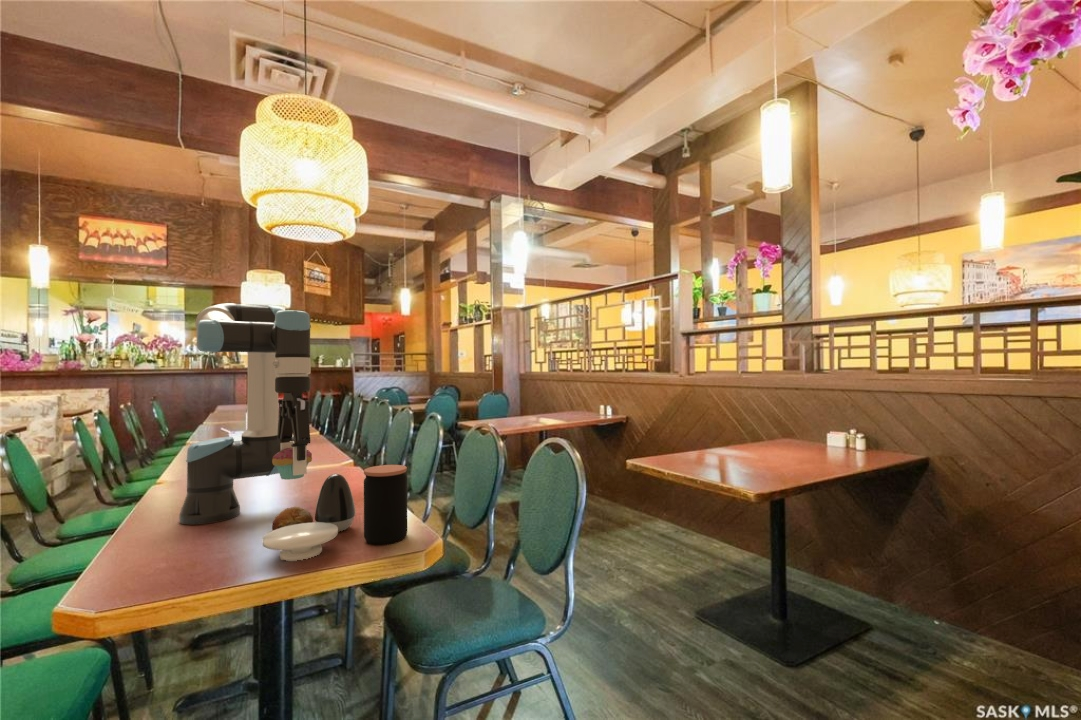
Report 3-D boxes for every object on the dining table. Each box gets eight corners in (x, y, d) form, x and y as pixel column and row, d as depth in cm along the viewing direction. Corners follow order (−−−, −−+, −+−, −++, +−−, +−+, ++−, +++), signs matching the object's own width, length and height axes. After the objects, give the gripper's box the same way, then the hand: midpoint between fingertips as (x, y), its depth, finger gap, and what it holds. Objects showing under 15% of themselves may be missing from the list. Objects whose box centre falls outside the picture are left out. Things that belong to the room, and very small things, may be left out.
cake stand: (253, 554, 116) (253, 533, 116) (322, 537, 127) (322, 518, 128) (275, 573, 105) (275, 550, 105) (349, 553, 116) (349, 532, 116)
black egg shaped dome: (354, 522, 141) (354, 468, 141) (356, 532, 131) (356, 475, 131) (315, 527, 137) (315, 472, 137) (314, 538, 127) (314, 479, 127)
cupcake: (283, 474, 120) (283, 425, 120) (318, 473, 120) (318, 424, 120) (265, 482, 111) (265, 429, 111) (303, 481, 112) (303, 428, 112)
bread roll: (316, 540, 137) (322, 510, 140) (296, 535, 128) (304, 503, 131) (282, 539, 138) (290, 509, 141) (260, 534, 129) (269, 503, 132)
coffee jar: (416, 536, 128) (415, 467, 128) (382, 549, 119) (382, 474, 119) (389, 529, 133) (388, 463, 134) (355, 541, 125) (354, 470, 125)
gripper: (262, 376, 121) (262, 468, 121) (290, 375, 106) (290, 481, 105) (295, 375, 127) (295, 464, 126) (326, 375, 111) (326, 475, 111)
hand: (293, 471), depth 116 cm, fingers closed on cupcake, 8 cm apart
